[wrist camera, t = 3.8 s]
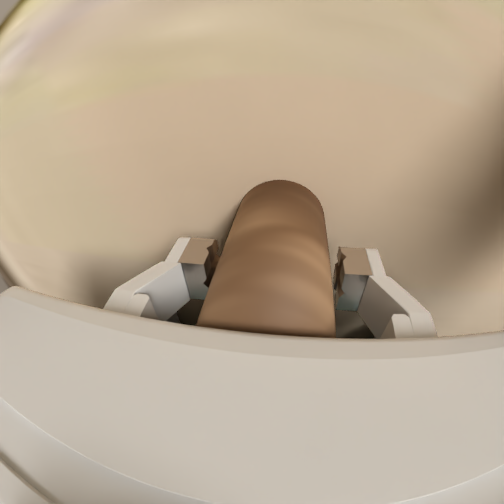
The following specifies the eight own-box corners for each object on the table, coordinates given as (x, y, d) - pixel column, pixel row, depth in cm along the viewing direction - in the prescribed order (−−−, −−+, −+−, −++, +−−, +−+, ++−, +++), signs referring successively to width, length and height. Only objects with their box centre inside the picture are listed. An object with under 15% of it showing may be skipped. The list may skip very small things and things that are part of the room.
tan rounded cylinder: (328, 182, 11) (351, 313, 6) (319, 256, 14) (322, 386, 8) (235, 178, 12) (177, 299, 6) (240, 251, 14) (205, 375, 9)
